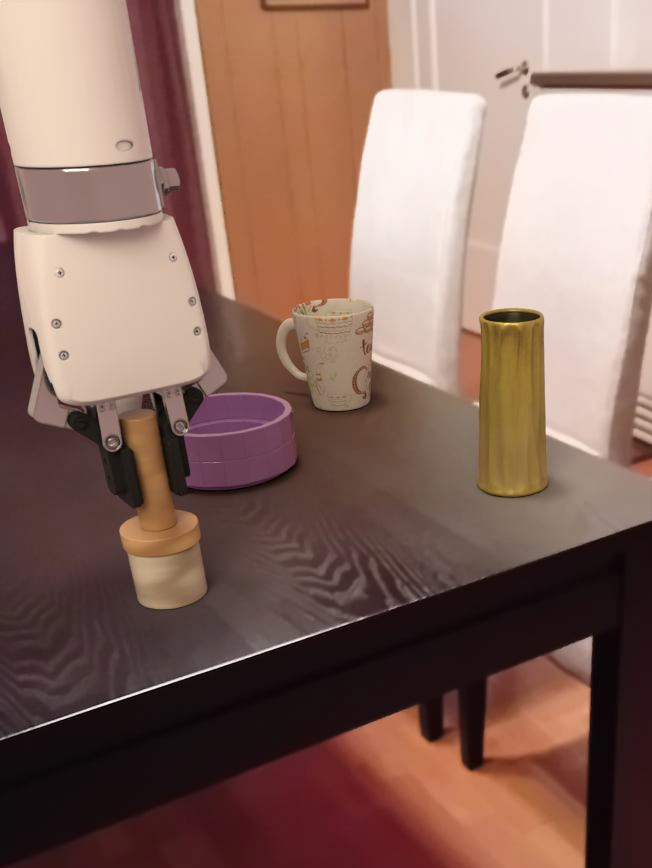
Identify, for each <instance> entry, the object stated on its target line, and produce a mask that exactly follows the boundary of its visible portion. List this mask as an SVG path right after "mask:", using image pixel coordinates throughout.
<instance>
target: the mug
mask: <svg viewBox="0 0 652 868" xmlns="http://www.w3.org/2000/svg"><path fill="white" fill-rule="evenodd" d="M374 307H375V306H374V304H373V303H372V302H370V301H367V300H364V299H360V298H359V299H358V298H344V297H343V298H325V299H316V300H311V301H306V302H302V303H300V304H296V305H295V306H293V307H292V309H291V317H289V318H286V319H285V320H283V321H282V323H281V324H280V326H278V329H277V333H276V337H275V347H276V353H277V355H278V358H279V360H280V362H281V364H282V365H283V367H284V368H285V369H286V371H287V372H288V373H290V374H291V375H292V376H293V378H295V379H297V380H299V381H301V382H305V383H308V388H309V391H310V395H311V399H312V403H313V405H314V407H315V408H317V409H319V410H323V411H328V412H344V411H345V412H346V411H352V410H357V409H360V408H363V407H365V406H367V405H368V404H369V403H370V401H371V389H372V388H371V387H372V386H371V385H372V365H373V363H372V362H373V343H374V341H373V339H374V320H375V319H374V318H375V317H374V316H375V309H374ZM292 331H295V334H296V337H297V338H296V339H297V341H298V347H299V350H300V354H301V357H302V362H303V367H304V371H305V372H302V371H301V370H300V369H298V367H296V365H295V364H294V363H293V362H292V360H291V358H290V356H289V353H288V350H287V341H288V337H289V335H290V334H291V332H292Z"/></svg>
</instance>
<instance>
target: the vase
mask: <svg viewBox="0 0 652 868" xmlns="http://www.w3.org/2000/svg"><path fill="white" fill-rule="evenodd" d="M478 321H479V326H480V373H479V374H480V375H479V377H480V378H479V393H478V394H479V395H478V425H479V426H478V430H479V434H478V435H479V436H478V476H477V482H476V483H477V486H478V488H479V489H480V490H481V491H483V492H485V493H486V494H489V495H493V496H498V497H504V498H518V497H519V498H520V497H527V496H532V495H534V494H537V493H539V492H542V491H543V490H544V489H546V487H547V486H548V484H549V477H548V460H547V458H548V457H547V433H546V432H547V429H546V426H547V424H546V423H547V422H546V420H547V419H546V418H547V417H546V415H547V414H546V377H545V376H546V375H545V374H546V371H545V368H546V367H545V365H546V364H545V316H544V314H543V313H542V312H541V311H539V310H536V309H531V308H521V307H507V308H506V307H504V308H497V309H492V310H488V311H485V312H483V313H481V314H480V315H479V316H478Z"/></svg>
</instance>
